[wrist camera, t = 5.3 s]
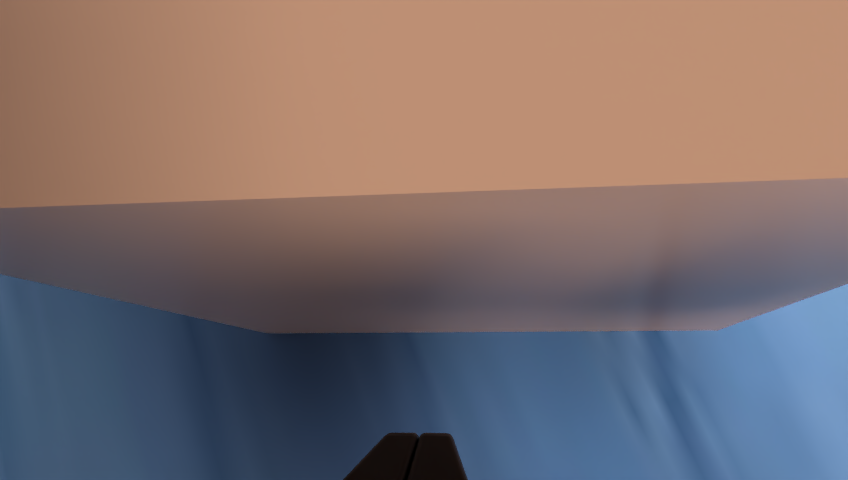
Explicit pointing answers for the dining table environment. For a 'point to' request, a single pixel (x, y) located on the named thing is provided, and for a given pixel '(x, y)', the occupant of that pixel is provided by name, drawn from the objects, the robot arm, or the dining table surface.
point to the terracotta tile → (428, 160)
